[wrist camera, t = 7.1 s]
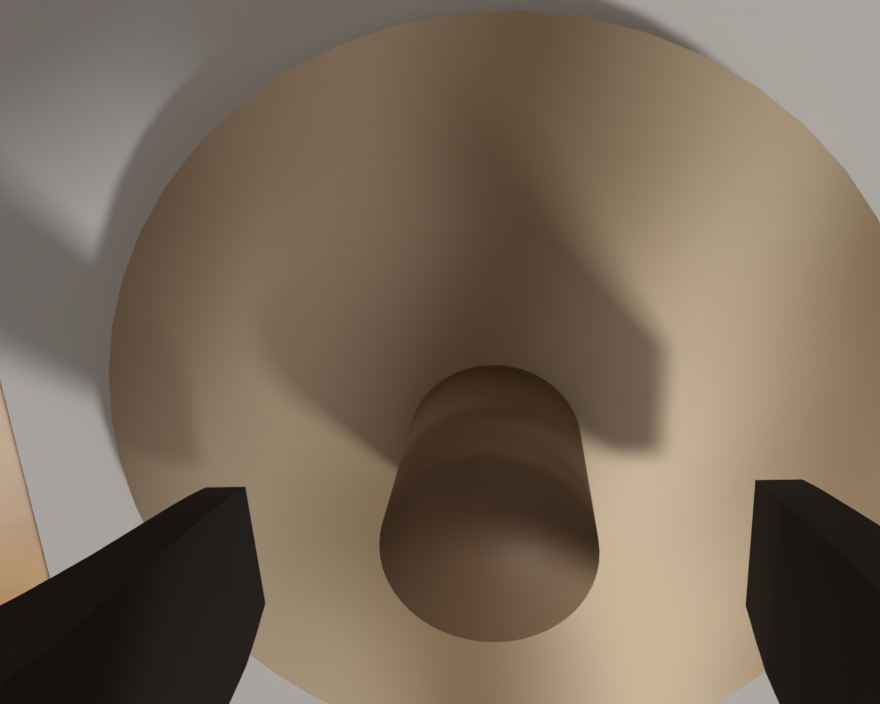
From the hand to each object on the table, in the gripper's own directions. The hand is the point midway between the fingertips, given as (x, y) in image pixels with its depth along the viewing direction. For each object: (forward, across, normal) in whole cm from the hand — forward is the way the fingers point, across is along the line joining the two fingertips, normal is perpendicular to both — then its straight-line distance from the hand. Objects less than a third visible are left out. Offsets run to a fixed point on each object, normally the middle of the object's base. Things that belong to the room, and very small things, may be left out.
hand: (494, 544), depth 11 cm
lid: (+3, 0, -1) cm, 3 cm away
